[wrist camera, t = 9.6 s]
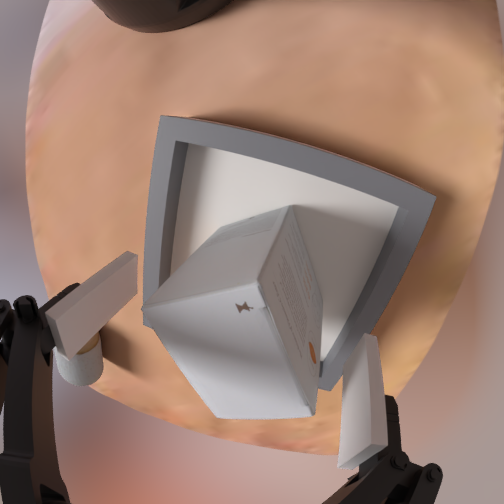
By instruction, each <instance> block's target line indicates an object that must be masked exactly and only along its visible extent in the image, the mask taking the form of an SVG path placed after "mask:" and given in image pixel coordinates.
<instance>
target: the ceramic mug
mask: <svg viewBox="0 0 504 504" xmlns="http://www.w3.org/2000/svg"><path fill="white" fill-rule="evenodd" d="M54 351H55V357H56V362H57V367H58V370H59V372H60V374H61V376H62V377H63V378H64V379H65V380H66V381H68V382H69V383H71V384H73V385H77V386H86V385H90V384H93V383H94V382H96V381H97V380H98V379H99V378H100V376H101V375H102V372H103V357H102V349H101V338H100V334H99V332H97V333H96V334H95V335H94V336H93V337H92V338H91V339H90V340H89V341H88V342H87V343H86V344H85V345H84V346H83V347H82V348H81V349H80V350H79V351H78V352H77V353H76V354H75V355H74V356H73V357H72V359H71V360H70V361H68V360H67V359H65V358H64V357H62V356H61V355H60V354H59V353H58V351H57V348H56V346H55V347H54Z"/></svg>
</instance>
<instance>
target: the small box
mask: <svg viewBox="0 0 504 504" xmlns="http://www.w3.org/2000/svg"><path fill="white" fill-rule="evenodd" d="M141 310H142V311H143V313H144V315H145V316H146V318H147V319H148V321H149V323H150V324H151V326H152V328H153V329H154V331H155V332H156V334H157V336H158V337H159V339H160V340H161V342H162V343H163V345H164V346H165V348H166V349H167V351H168V352H169V354H170V355H171V357H172V358H173V360H174V361H175V363H176V364H177V365H178V367H179V368H180V370H181V371H182V373H183V374H184V375H185V377H186V378H187V380H188V381H189V382H190V384H191V385H192V386H193V388H194V389H195V390H196V392H197V393H198V394H199V396H200V397H201V398H202V400H203V401H204V402H205V403H206V405H207V406H208V407H209V409H210V410H211V411H212V412H213V414H214V415H215V416H216V417H217V418H224V419H287V418H302V417H311V416H314V415H315V411H316V402H317V393H318V381H319V370H320V355H321V338H322V319H323V299H322V296H321V293H320V290H319V287H318V283H317V280H316V277H315V274H314V271H313V268H312V265H311V262H310V259H309V255H308V252H307V249H306V246H305V243H304V240H303V237H302V235H301V232H300V229H299V226H298V223H297V220H296V217H295V214H294V211H293V208H292V206H291V205H288V206H285V207H281V208H278V209H275V210H272V211H268V212H265V213H262V214H259V215H256V216H252V217H249V218H246V219H243V220H240V221H237V222H234V223H231V224H228V225H225V226H221V227H219V228H218V229H217V230H216V231H215V232H214V233H213V234H212V235H211V236H210V237H209V238H208V239H207V240H206V241H205V242H204V243H203V244H202V245H201V246H200V247H199V248H198V249H197V250H196V251H195V252H194V253H193V254H192V255H191V256H190V257H189V258H188V259H187V260H186V261H185V262H184V263H183V264H182V265H181V266H180V267H179V268H178V269H177V270H176V271H175V272H174V273H173V274H172V275H171V276H170V277H169V278H168V279H167V280H166V281H165V282H164V283H163V284H162V286H161V287H160V288H159V289H158V290H157V291H156V292H155V293H154V294H153V295H152V296H151V297H150V298H149V299H148V300H147V301H146V303H145V304H144V305H143V306H142V308H141Z"/></svg>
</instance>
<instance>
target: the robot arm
mask: <svg viewBox="0 0 504 504" xmlns="http://www.w3.org/2000/svg"><path fill="white" fill-rule="evenodd" d="M92 1H93V2H94V3H95V4H96V5H97V6H98V7H99V8H100V9H101V10H102V11H103V12H104V13H105V15H106V16H107V17H108V18H109V19H110V20H112V21H113V22H115V23H117V24H119V25H121V26H124V27H127V28H129V29H132V30H135V31H138V32H145V33H158V32H165V31H171V30H175V29H179V28H182V27H185V26H188V25H190V24H193V23H195V22H198V21H200V20H202V19H204V18H206V17H208V16H210V15H212V14H213V13H215V12H217V11H219V10H220V9H222V8H223V7H225V6H226V5H228V4H229V3H230V2H232V1H233V0H92ZM137 265H138V255H136V254H134V253H131V252H129V251H126V252H125V253H124V254H122V255H121V256H119V257H118V258H116V259H115V260H114V261H112V262H111V263H109V264H108V265H107V266H105V267H104V268H102V269H101V270H100V271H98V272H97V273H96V274H94V275H93V276H91V277H90V278H89V279H87V280H86V281H85V282H83V283H82V284H79V283H75V284H72V285H69V286H68V287H66V288H65V289H64V290H62V292H60V293H59V294H57V296H55V297H53V298H52V299H51V300H49V301H48V302H47V303H46V304H44V305H43V306H42V307H41V308H39V309H38V306H37V303H36V300H35V298H33V297H32V296H29V295H25V296H21V297H19V298H18V299H16V300H15V301H14V303H13V306H14V309H15V310H13V309H12V308H11V305H10V303H9V301H7V300H5V299H2V300H0V340H1V338H2V340H1V342H0V414H1V411H2V407H3V403H4V422H3V424H4V425H3V426H4V427H3V431H4V433H3V435H4V451H3V453H1V454H0V488H1V495H2V501H3V504H71V503H70V500H69V496H68V492H67V488H66V486H65V483H64V482H63V480H62V478H61V475H60V471H59V465H58V459H57V451H56V443H55V434H54V422H53V402H52V369H53V350H52V349H53V348H54V347H55V346H56V348H57V351H58V353H59V354H60V355H61V356H62V357H64V358H65V359H67V360H68V361H70V360H71V359H72V357H73V356H74V355H75V354H76V353H77V352H78V351H79V350H80V349H81V348H82V347H83V346H84V345H85V344H86V343H87V342H88V341H89V340H90V339H91V338H92V337H93V336H94V335H95V334H96V333H97V332H98V331H99V330H100V329H101V328H102V327H103V326H104V325H105V324H106V323H107V322H108V321H109V320H110V319H111V318H112V317H113V316H114V315H115V314H116V313H117V312H118V311H119V310H120V309H121V308H122V307H123V306H124V305H126V304H127V303H128V302H129V301H130V300H131V299H132V298H133V297H134V296H135V295H136V294H137ZM357 466H359V472H358V473H357V474H355V475H353V476H351V477H350V478H348V480H349V481H348V482H347V483H346V484H344V485H343V486H342V487H341V488H340V489H339V490H338V491H337V492H335V493H334V494H333V495H332V496H331V497H329V498H328V499H327V500H326V501H325V502H323V503H322V504H434V502H435V499H436V496H437V494H438V491H439V488H440V485H441V482H442V478H443V474H442V470H441V468H440V467H439V466H438V465H437V464H434V463H430V464H428V465H426V466H424V467H422V466H419V465H417V464H414V463H411V462H410V461H409V458H408V456H407V455H406V453H405V452H403V451H402V449H401V436H400V424H399V416H398V405H397V403H396V401H395V399H394V397H393V396H388V395H384V385H383V376H382V368H381V361H380V354H379V347H378V341H377V336H374V335H370V334H367V333H364V335H363V336H362V338H361V339H360V341H359V343H358V344H357V346H356V347H355V349H354V350H353V352H352V353H351V355H350V356H349V358H348V359H347V361H346V362H345V364H344V365H343V392H342V416H341V432H340V445H339V456H338V466H337V468H342V469H354V468H356V467H357Z"/></svg>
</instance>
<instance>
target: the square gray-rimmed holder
mask: <svg viewBox="0 0 504 504" xmlns="http://www.w3.org/2000/svg"><path fill="white" fill-rule="evenodd" d="M435 200H436V196H434V195H433V194H431V193H429V192H428V191H426V190H424V189H422V188H421V187H419V186H417V185H415V184H413V183H411V182H408V181H406V180H404V179H401V178H399V177H397V176H394V175H392V174H390V173H387V172H385V171H382V170H380V169H377V168H375V167H372V166H369V165H367V164H364V163H361V162H359V161H356V160H353V159H350V158H348V157H345V156H342V155H339V154H336V153H333V152H330V151H327V150H324V149H321V148H318V147H314V146H311V145H308V144H304V143H301V142H298V141H294V140H290V139H287V138H283V137H279V136H276V135H272V134H268V133H264V132H260V131H255V130H251V129H247V128H242V127H238V126H233V125H228V124H223V123H218V122H212V121H207V120H201V119H195V118H189V117H177V116H162V115H161V116H160V121H159V127H158V132H157V138H156V144H155V150H154V157H153V164H152V171H151V179H150V187H149V196H148V206H147V217H146V230H145V246H144V270H143V305H144V304H145V303H146V301H147V300H148V299H149V298H150V297H151V296H152V295H153V294H154V293H155V292H156V291H157V290H158V289H159V288H160V287H161V286H162V284H163V283H164V282H165V281H166V280H167V279H168V278H169V277H170V276H171V275H172V274H173V273H174V272H175V271H176V270H177V269H178V268H179V267H180V266H181V265H182V264H183V263H184V262H185V261H186V260H187V259H188V258H189V257H190V256H191V255H192V254H193V253H194V252H195V251H196V250H197V249H198V248H199V247H200V246H201V245H202V244H203V243H204V242H205V241H206V240H207V239H208V238H209V237H210V236H211V235H212V234H213V233H214V232H215V231H216V230H217V229H218V228H219V227H221V226H225V225H228V224H231V223H234V222H237V221H240V220H243V219H246V218H249V217H252V216H256V215H259V214H262V213H265V212H268V211H272V210H275V209H278V208H281V207H285V206H288V205H291V206H292V208H293V211H294V214H295V217H296V220H297V223H298V226H299V229H300V232H301V235H302V237H303V240H304V243H305V246H306V249H307V252H308V255H309V259H310V262H311V265H312V268H313V271H314V274H315V277H316V280H317V283H318V287H319V290H320V293H321V296H322V299H323V319H322V338H321V355H320V370H319V381H318V388H319V389H323V390H327V391H331V390H332V389H333V387H334V386H335V385H336V383H337V382H338V380H339V379H340V378H341V376H342V375H343V365H344V364H345V362H346V361H347V359H348V358H349V356H350V355H351V353H352V352H353V350H354V349H355V347H356V346H357V344H358V343H359V341H360V339H361V338H362V336H363V335H364V333H367V334H370V333H371V331H372V330H373V328H374V326H375V325H376V323H377V321H378V320H379V318H380V316H381V315H382V313H383V311H384V309H385V308H386V306H387V304H388V302H389V300H390V299H391V297H392V295H393V293H394V291H395V289H396V287H397V286H398V284H399V282H400V280H401V278H402V276H403V274H404V272H405V270H406V268H407V266H408V264H409V262H410V260H411V257H412V255H413V253H414V251H415V249H416V247H417V244H418V242H419V240H420V237H421V235H422V233H423V230H424V228H425V226H426V223H427V221H428V218H429V216H430V213H431V211H432V208H433V205H434V203H435ZM143 325H145V326H147V327H149V328H151V329H153V328H152V326H151V324H150V323H149V321H148V319H147V318H146V316H145V315H144V313H143Z"/></svg>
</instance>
